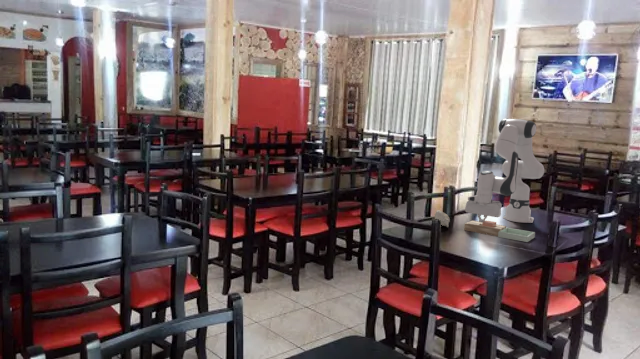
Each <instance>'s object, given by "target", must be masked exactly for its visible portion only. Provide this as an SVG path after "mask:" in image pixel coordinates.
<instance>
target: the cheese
mask: <svg viewBox="0 0 640 359" xmlns="http://www.w3.org/2000/svg"><path fill="white" fill-rule="evenodd" d="M435 219H439V220H441V225H442V226H441V227H443V226H444V227H445V228H449V223H450V222H451V221H450V220H451V219H450V217H449V215H448V214H446V213H445V212H443V211H442V210H440V209H438V210H436V211H435V213H434V220H435Z"/></svg>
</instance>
